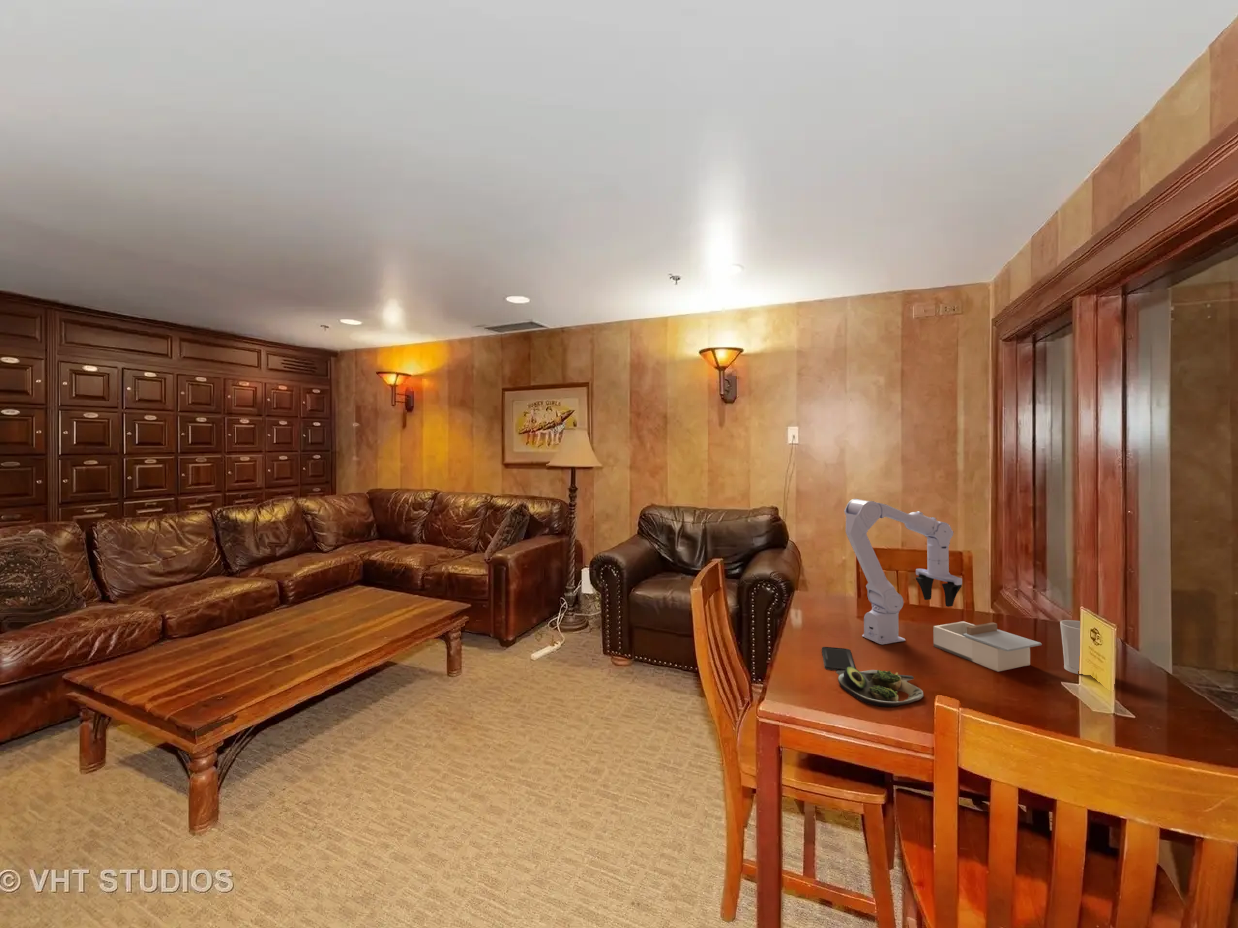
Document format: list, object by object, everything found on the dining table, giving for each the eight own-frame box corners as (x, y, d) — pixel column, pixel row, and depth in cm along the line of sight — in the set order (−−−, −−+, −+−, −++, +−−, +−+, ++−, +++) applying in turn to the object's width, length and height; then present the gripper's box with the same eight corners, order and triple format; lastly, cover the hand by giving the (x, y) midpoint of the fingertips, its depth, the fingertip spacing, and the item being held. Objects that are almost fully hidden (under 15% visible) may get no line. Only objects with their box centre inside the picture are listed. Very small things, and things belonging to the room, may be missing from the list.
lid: (1007, 651, 133) (1007, 641, 133) (962, 635, 145) (962, 626, 145) (1041, 644, 137) (1041, 635, 137) (994, 629, 149) (994, 621, 149)
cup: (1093, 667, 137) (1093, 622, 137) (1106, 679, 130) (1106, 631, 130) (1055, 662, 141) (1055, 618, 141) (1066, 674, 134) (1066, 627, 133)
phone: (850, 648, 152) (856, 669, 137) (850, 652, 152) (856, 673, 137) (821, 646, 154) (824, 666, 140) (821, 650, 154) (824, 670, 140)
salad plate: (889, 670, 139) (889, 653, 139) (945, 701, 121) (945, 682, 121) (825, 679, 135) (825, 661, 134) (873, 712, 117) (873, 692, 117)
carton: (997, 671, 136) (997, 648, 136) (933, 646, 154) (933, 626, 154) (1030, 664, 140) (1030, 642, 140) (963, 640, 158) (963, 621, 158)
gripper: (969, 562, 156) (969, 607, 157) (927, 554, 170) (927, 595, 170) (951, 564, 154) (952, 610, 154) (910, 555, 168) (911, 597, 168)
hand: (938, 602), depth 162 cm, fingers open, 7 cm apart
